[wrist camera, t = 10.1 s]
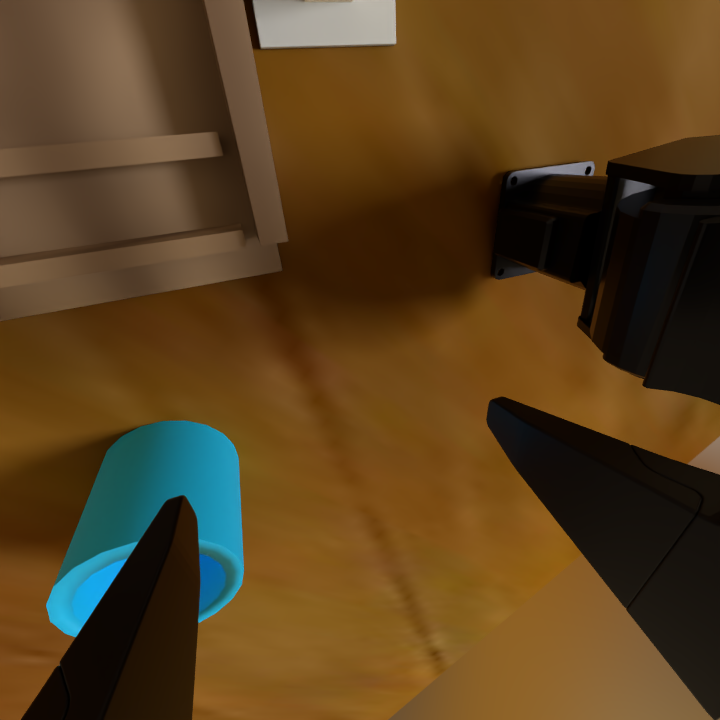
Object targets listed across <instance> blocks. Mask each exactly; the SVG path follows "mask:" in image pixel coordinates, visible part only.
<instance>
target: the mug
mask: <svg viewBox="0 0 720 720" xmlns="http://www.w3.org/2000/svg"><path fill="white" fill-rule="evenodd" d="M180 495H184V496H186V497H187V499H188V501H189V503H190V504H191V506H192V508H193V510H194V512H195V513H196V516H197V521H198V539H199V559H200V602H199V618H198V623H199V622H201V621H203V620H204V619H206V618H208V617H210V616H211V615H213V614H215V613H217V612H218V611H219V610H220V609H221V608H222V607H223V606H225V605H226V604H227V603H228V602H229V601H230V600H232V599H233V597H234V595H235V594H236V592H237V591H238V589H239V588H240V586H241V585H242V579H243V572H244V563H243V542H242V520H241V499H240V478H239V458H238V455H237V452H236V449H235V446H234V445H233V443H232V442H231V441H230V440H229V439H228V438H227V437H226V436H225V435H224V434H223V433H221V432H219V431H217V430H215V429H213V428H211V427H209V426H207V425H203V424H199V423H194V422H190V421H162V422H157V423H153V424H149V425H145V426H141V427H139V428H137V429H135V430H133V431H131V432H129V433H127V434H125V435H123V436H121V437H120V438H119V439H118V440H117V441H116V442H115V443H114V444H113V445H112V446H111V447H110V448H109V449H108V450H107V452H106V455H105V457H104V460H103V462H102V465H101V467H100V470H99V472H98V475H97V477H96V480H95V483H94V485H93V488H92V490H91V493H90V495H89V498H88V500H87V503H86V505H85V508H84V510H83V513H82V515H81V518H80V521H79V523H78V526H77V528H76V531H75V533H74V536H73V538H72V541H71V543H70V546H69V548H68V551H67V554H66V556H65V559H64V561H63V564H62V566H61V569H60V571H59V574H58V576H57V579H56V581H55V584H54V587H53V589H52V592H51V594H50V597H49V599H48V602H47V604H46V607H47V610H48V614H49V618H50V621H51V622H52V623H53V624H54V625H55V626H57V627H58V628H59V629H60V630H61V631H63V632H64V633H65V634H68V635H71V636H74V637H76V636H77V635H78V633H79V632H80V630H81V629H82V627H83V626H84V624H85V623H86V621H87V619H88V618H89V616H90V615H91V613H92V612H93V610H94V609H95V607H96V606H97V604H98V603H99V601H100V600H101V598H102V597H103V595H104V594H105V592H106V591H107V589H108V588H109V586H110V585H111V583H112V581H113V580H114V578H115V577H116V575H117V574H118V572H119V571H120V569H121V568H122V566H123V565H124V563H125V562H126V560H127V559H128V557H129V556H130V554H131V553H132V551H133V550H134V548H135V546H136V545H137V543H138V542H139V540H140V539H141V537H142V536H143V534H144V533H145V531H146V530H147V528H148V527H149V525H150V524H151V522H152V521H153V519H154V518H155V516H156V515H157V513H158V512H159V510H160V508H161V507H162V505H163V504H164V503H165V501H166V500H168V499H170V498H173V497H177V496H180Z"/></svg>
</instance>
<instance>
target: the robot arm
mask: <svg viewBox="0 0 720 720" xmlns="http://www.w3.org/2000/svg"><path fill="white" fill-rule="evenodd" d="M594 168H595V165H594V163H593V162H591V161H583V162H576V163H568V164H561V165H553V166H545V167H538V168H530V169H523V170H515V171H510V172H508V173H506V174H505V176H504V178H503V181H502V189H501V196H500V204H499V212H498V220H497V228H496V236H495V244H494V252H493V260H492V267H491V276H492V277H493V278H495V279H498V280H500V279H505V278H509V277H514V276H519V275H523V274H528V273H533V272H538V273H541V274H544V275H546V276H549V277H552V278H554V279H557V280H560V281H562V282H565V283H567V284H570V285H573V286H575V287H578V288H581V289H583V290H586V291H585V296H584V301H583V306H582V311H581V316H579V317H578V322H577V326H578V327H579V328H580V329H581V330H582V331H583V332H584V333H585V334H586V335H587V336H588V337H589V338H590V339H591V340H592V342H593V343H594V344H595V345H596V346H597V347H598V348H599V349H600V350H601V351H602V352H603V359H604V360H605V361H606V362H608V363H609V364H611V365H613V366H615V367H617V368H618V369H620V370H623V371H625V372H628V373H630V374H632V375H634V376H637V377H639V378H642V379H644V381H643V384H642V385H643V386H644V387H646V388H650V389H658V390H667V391H674V392H678V393H682V394H687V395H691V396H695V397H699V398H702V399H705V400H708V401H711V402H713V403H716V404H719V405H720V135H715V136H703V137H692V138H685V139H681V140H677V141H674V142H671V143H667V144H664V145H660V146H657V147H654V148H650V149H647V150H643V151H640V152H637V153H633V154H630V155H626V156H623V157H620V158H616V159H613V160H609V161H608V164H607V169H606V175H608V177H606V176H593V173H594ZM585 169H586V171H585ZM512 177H513V182H512V184H510V181H511V179H512ZM499 270H500V272H499V273H498V271H499ZM486 420H487V424H488V427H489V428H490V430H491V431H492V433H493V435H494V436H495V438H496V439H497V441H498V442H499V444H500V446H501V447H502V449H503V450H504V452H505V453H506V455H507V457H508V458H509V460H510V461H511V463H512V464H513V466H514V467H515V468H516V470H517V471H518V472H519V474H520V475H521V476H522V478H523V479H524V480H525V481H526V483H527V484H528V485H529V487H530V488H531V489H532V490H533V492H534V493H535V494H536V495H537V497H538V498H539V499H540V500H541V502H542V503H543V504H544V506H545V507H546V508H547V509H548V511H549V512H550V513H551V514H552V516H553V517H554V518H555V520H556V521H557V522H558V523H559V525H560V526H561V527H562V528H563V530H564V531H565V532H566V534H567V535H568V536H569V537H570V539H571V540H572V541H573V542H574V544H575V545H576V546H577V548H578V549H579V550H580V551H581V553H582V554H583V555H584V556H585V558H586V559H587V560H588V562H589V563H590V564H591V565H592V567H593V568H594V569H595V570H596V572H597V573H598V574H599V576H600V577H601V578H602V579H603V581H604V582H605V583H606V584H607V586H608V587H609V588H610V589H611V591H612V592H613V593H614V595H615V596H616V597H617V598H618V599H619V601H620V602H621V603H622V605H623V606H624V607H625V608H627V609H626V610H627V611H628V613H629V614H630V615H631V617H632V618H633V619H634V620H635V622H636V623H637V624H638V625H639V627H640V628H641V629H642V630H643V632H644V633H645V634H646V636H647V637H648V638H649V639H650V641H651V642H652V643H653V644H654V646H655V647H656V648H657V650H658V651H659V652H660V653H661V655H662V656H663V657H664V658H665V660H666V661H667V662H668V663H669V665H670V666H671V667H672V669H673V670H674V671H675V672H676V674H677V675H678V676H679V678H680V679H681V680H682V681H683V683H684V684H685V685H686V686H687V688H688V689H689V690H690V691H691V693H692V694H693V695H694V697H695V698H696V699H697V700H698V702H699V703H700V704H701V705H702V707H703V708H704V709H705V710H706V712H707V713H708V714H709V715H710V716H711V717H712V718H713V719H714V720H718V719H720V475H719V474H715V473H713V472H709V471H706V470H703V469H700V468H697V467H694V466H691V465H688V464H685V463H682V462H678V461H675V460H672V459H669V458H667V457H664V456H661V455H658V454H656V453H653V452H650V451H647V450H644V449H642V448H639V447H637V446H634V445H629V444H628V443H626V442H623V441H620V440H618V439H615V438H612V437H610V436H607V435H604V434H602V433H599V432H596V431H594V430H591V429H588V428H586V427H583V426H580V425H578V424H575V423H572V422H570V421H567V420H564V419H562V418H559V417H556V416H554V415H551V414H548V413H546V412H543V411H540V410H538V409H535V408H532V407H530V406H527V405H524V404H522V403H519V402H516V401H514V400H511V399H508V398H506V397H498V398H495V399H492V400H490V402H489V406H488V412H487V419H486ZM199 602H200V559H199V539H198V521H197V516H196V513H195V512H194V510H193V508H192V506H191V504H190V503H189V501H188V499H187V497H186V496H184V495H180V496H177V497H173V498H170V499H168V500H166V501H165V503H164V504H163V505H162V507H161V508H160V510H159V512H158V513H157V515H156V516H155V518H154V519H153V521H152V522H151V524H150V525H149V527H148V528H147V530H146V531H145V533H144V534H143V536H142V537H141V539H140V540H139V542H138V543H137V545H136V546H135V548H134V550H133V551H132V553H131V554H130V556H129V557H128V559H127V560H126V562H125V563H124V565H123V566H122V568H121V569H120V571H119V572H118V574H117V575H116V577H115V578H114V580H113V581H112V583H111V585H110V586H109V588H108V589H107V591H106V592H105V594H104V595H103V597H102V598H101V600H100V601H99V603H98V604H97V606H96V607H95V609H94V610H93V612H92V613H91V615H90V616H89V618H88V619H87V621H86V623H85V624H84V626H83V627H82V629H81V630H80V632H79V633H78V635H77V636H76V638H75V639H74V641H73V642H72V644H71V645H70V647H69V648H68V650H67V651H66V653H65V654H64V656H63V657H62V659H61V661H60V666H57V667H56V668H55V669H54V671H53V672H52V674H51V675H50V677H49V679H48V680H47V682H46V683H45V685H44V686H43V688H42V689H41V691H40V692H39V694H38V695H37V697H36V698H35V699H34V701H33V702H32V704H31V705H30V707H29V708H28V710H27V711H26V713H25V714H24V716H23V717H22V719H21V720H192V710H193V695H194V680H195V664H196V649H197V633H198V618H199Z"/></svg>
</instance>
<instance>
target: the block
mask: <svg viewBox="0 0 720 720" xmlns="http://www.w3.org/2000/svg"><path fill="white" fill-rule="evenodd" d="M304 1H305V2H352V1H353V0H304Z"/></svg>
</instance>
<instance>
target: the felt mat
mask: <svg viewBox="0 0 720 720" xmlns="http://www.w3.org/2000/svg"><path fill="white" fill-rule="evenodd" d="M252 5H253V11H254V16H255V22H256V27H257V33H258V39H259V44H260V49H284V48H318V47H353V46H388V45H395V44H396V14H395V0H353V1H352V2H305V1H304V0H252Z"/></svg>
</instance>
